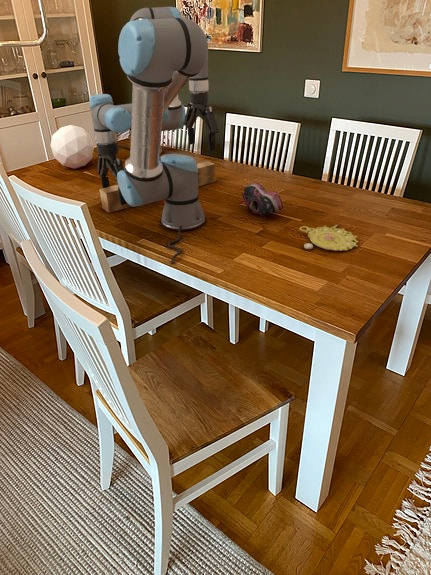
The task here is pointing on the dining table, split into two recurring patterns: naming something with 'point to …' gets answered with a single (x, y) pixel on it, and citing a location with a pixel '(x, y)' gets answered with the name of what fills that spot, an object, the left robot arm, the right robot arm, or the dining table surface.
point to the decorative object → (330, 238)
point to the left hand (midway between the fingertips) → (201, 147)
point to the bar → (112, 204)
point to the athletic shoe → (261, 200)
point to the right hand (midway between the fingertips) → (115, 198)
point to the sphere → (72, 146)
